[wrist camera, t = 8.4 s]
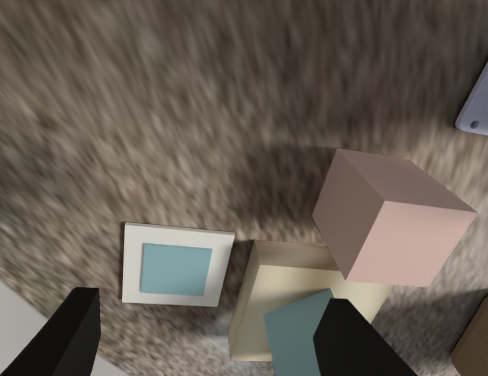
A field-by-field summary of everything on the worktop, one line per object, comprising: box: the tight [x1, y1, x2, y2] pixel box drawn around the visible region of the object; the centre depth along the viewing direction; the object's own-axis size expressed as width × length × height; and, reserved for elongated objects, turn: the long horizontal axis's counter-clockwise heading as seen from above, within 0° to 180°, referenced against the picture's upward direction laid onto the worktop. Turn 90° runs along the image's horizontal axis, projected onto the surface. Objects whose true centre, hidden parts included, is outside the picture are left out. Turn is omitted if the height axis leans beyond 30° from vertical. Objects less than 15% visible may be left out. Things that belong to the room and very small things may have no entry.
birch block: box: [228, 240, 394, 361], centre depth 25 cm, size 10×10×3 cm
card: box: [122, 222, 235, 307], centre depth 23 cm, size 7×7×1 cm
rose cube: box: [312, 148, 478, 287], centre depth 19 cm, size 5×5×6 cm
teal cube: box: [264, 288, 334, 376], centre depth 21 cm, size 5×5×6 cm
